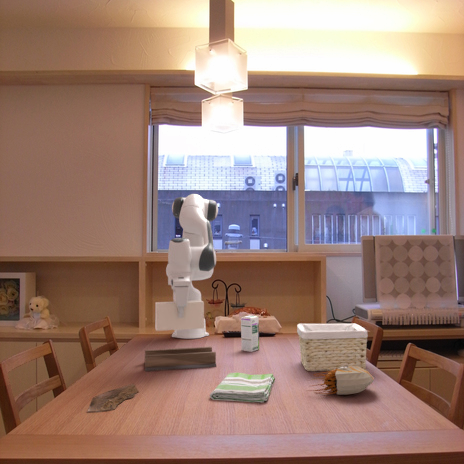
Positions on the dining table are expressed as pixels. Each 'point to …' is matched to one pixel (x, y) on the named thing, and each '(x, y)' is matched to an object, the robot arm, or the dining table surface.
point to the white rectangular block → (170, 321)
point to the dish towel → (244, 388)
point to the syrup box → (250, 333)
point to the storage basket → (332, 346)
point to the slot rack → (179, 358)
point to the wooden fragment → (112, 399)
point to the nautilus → (345, 380)
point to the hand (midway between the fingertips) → (179, 316)
